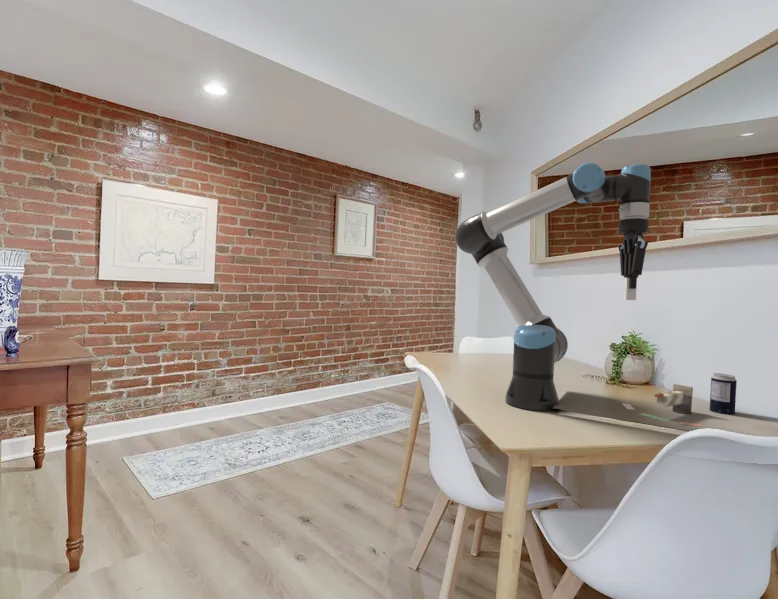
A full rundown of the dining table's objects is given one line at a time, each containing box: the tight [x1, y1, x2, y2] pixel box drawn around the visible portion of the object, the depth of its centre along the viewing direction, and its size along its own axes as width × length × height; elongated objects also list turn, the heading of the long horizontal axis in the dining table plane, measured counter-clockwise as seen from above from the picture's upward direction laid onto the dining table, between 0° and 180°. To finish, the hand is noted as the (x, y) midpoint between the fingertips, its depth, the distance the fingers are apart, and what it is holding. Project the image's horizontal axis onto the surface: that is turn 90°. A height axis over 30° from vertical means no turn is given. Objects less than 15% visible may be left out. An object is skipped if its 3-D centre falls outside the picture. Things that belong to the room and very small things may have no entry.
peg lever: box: [654, 383, 694, 415], centre depth 115 cm, size 18×4×7 cm, turn 125°
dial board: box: [613, 403, 703, 432], centre depth 117 cm, size 20×18×1 cm
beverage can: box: [709, 373, 738, 416], centre depth 121 cm, size 6×6×12 cm
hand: (629, 299), depth 124 cm, fingers closed
